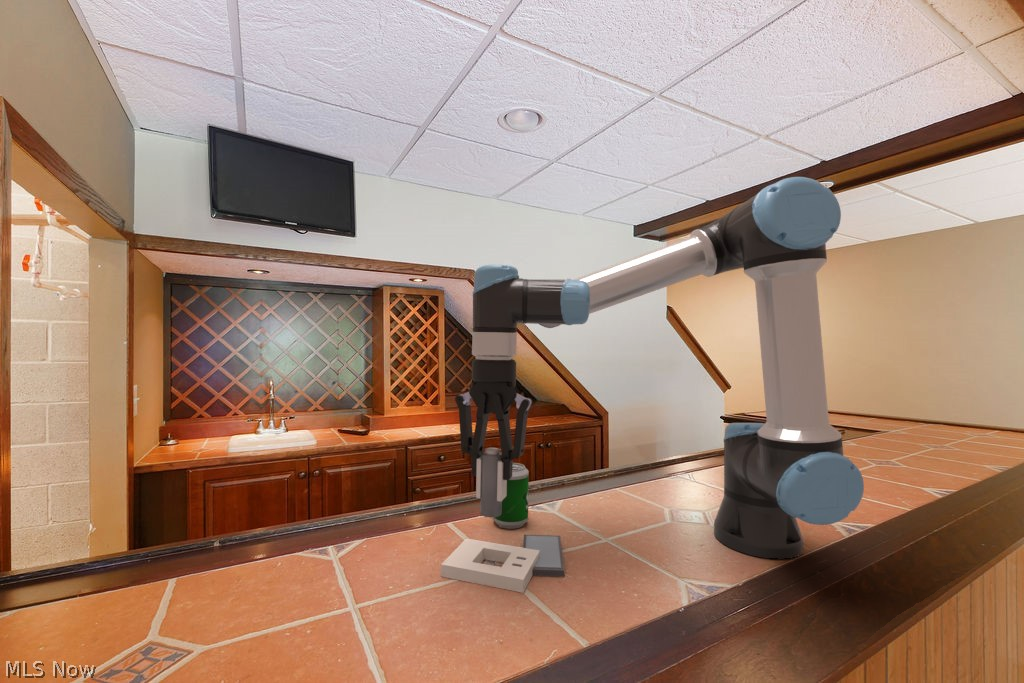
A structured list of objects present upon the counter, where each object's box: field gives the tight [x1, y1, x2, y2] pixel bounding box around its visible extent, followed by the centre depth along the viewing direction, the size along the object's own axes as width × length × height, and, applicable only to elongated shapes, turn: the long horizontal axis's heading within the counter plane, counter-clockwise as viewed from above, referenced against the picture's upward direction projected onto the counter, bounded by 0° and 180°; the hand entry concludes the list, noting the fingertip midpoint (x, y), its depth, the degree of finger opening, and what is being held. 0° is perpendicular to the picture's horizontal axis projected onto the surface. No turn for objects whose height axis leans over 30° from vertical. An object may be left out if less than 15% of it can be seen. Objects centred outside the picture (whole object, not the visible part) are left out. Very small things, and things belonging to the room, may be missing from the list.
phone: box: [522, 534, 565, 578], centre depth 79 cm, size 7×13×1 cm, turn 177°
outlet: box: [440, 538, 540, 594], centre depth 74 cm, size 14×10×2 cm
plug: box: [479, 447, 502, 518], centre depth 74 cm, size 4×4×11 cm
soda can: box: [492, 462, 530, 530], centre depth 93 cm, size 8×8×12 cm
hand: (491, 496), depth 74 cm, fingers closed on plug, 3 cm apart
